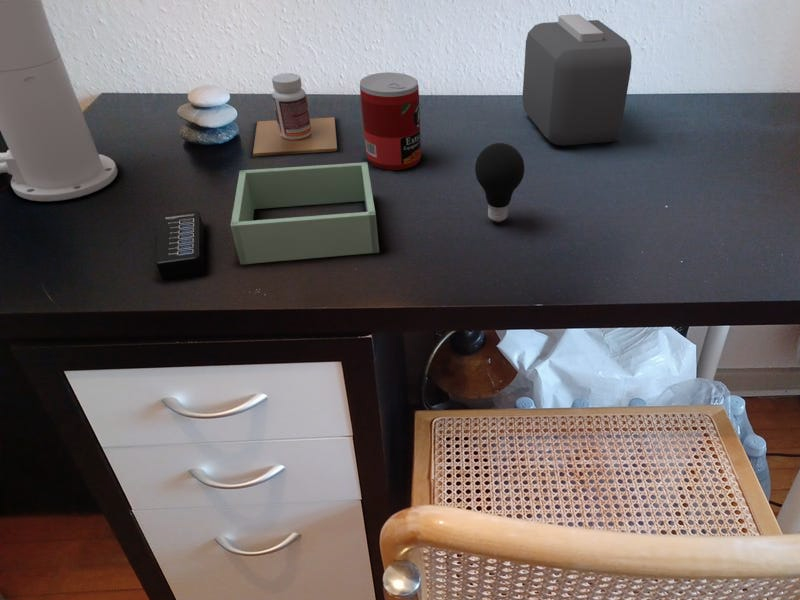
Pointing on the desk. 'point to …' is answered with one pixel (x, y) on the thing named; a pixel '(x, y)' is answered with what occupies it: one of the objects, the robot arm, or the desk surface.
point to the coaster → (274, 144)
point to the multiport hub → (180, 245)
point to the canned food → (391, 120)
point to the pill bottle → (291, 107)
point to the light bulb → (499, 177)
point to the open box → (308, 232)
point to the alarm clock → (576, 80)
